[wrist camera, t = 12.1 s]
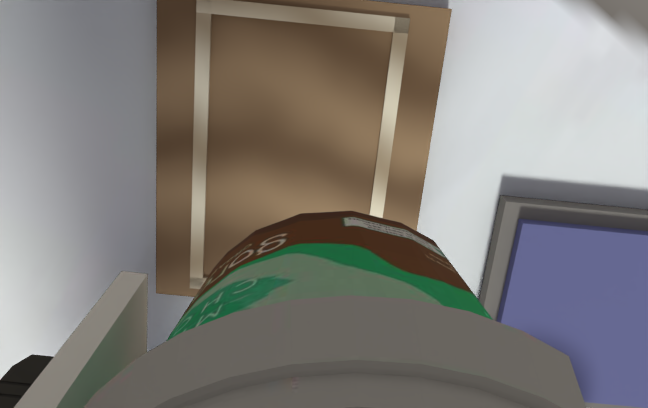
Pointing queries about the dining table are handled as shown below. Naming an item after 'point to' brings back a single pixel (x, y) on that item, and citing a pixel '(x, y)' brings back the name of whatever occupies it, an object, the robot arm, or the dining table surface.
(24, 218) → the dining table surface
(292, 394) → the food container
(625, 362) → the ink pad
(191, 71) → the marked board
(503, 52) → the dining table surface
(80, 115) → the dining table surface
